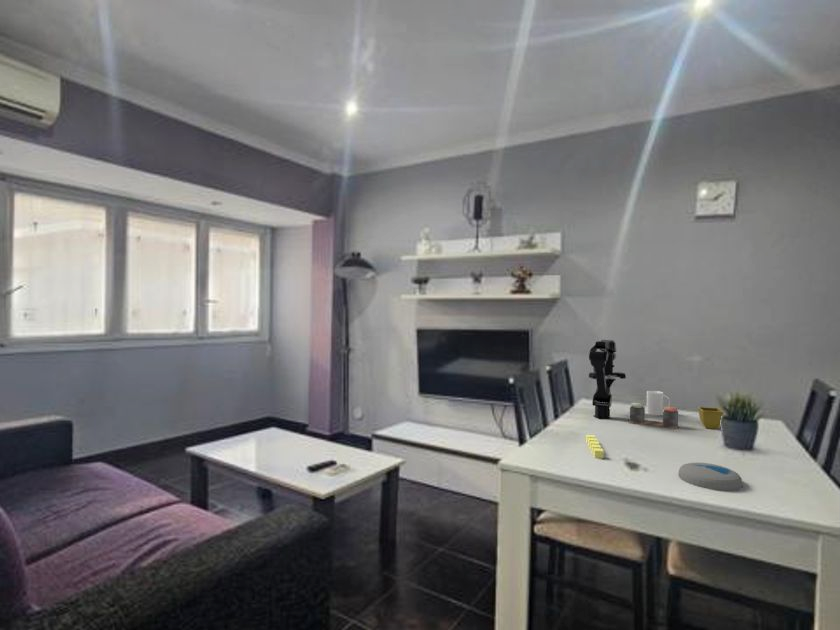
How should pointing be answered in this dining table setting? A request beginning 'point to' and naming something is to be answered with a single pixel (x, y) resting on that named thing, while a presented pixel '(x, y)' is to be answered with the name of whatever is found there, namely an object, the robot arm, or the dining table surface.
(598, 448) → the yellow ridged bar
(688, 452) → the dining table surface
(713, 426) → the flower pot
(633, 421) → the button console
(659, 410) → the mug
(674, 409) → the red button
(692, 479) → the decorative stone
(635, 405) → the sage button
